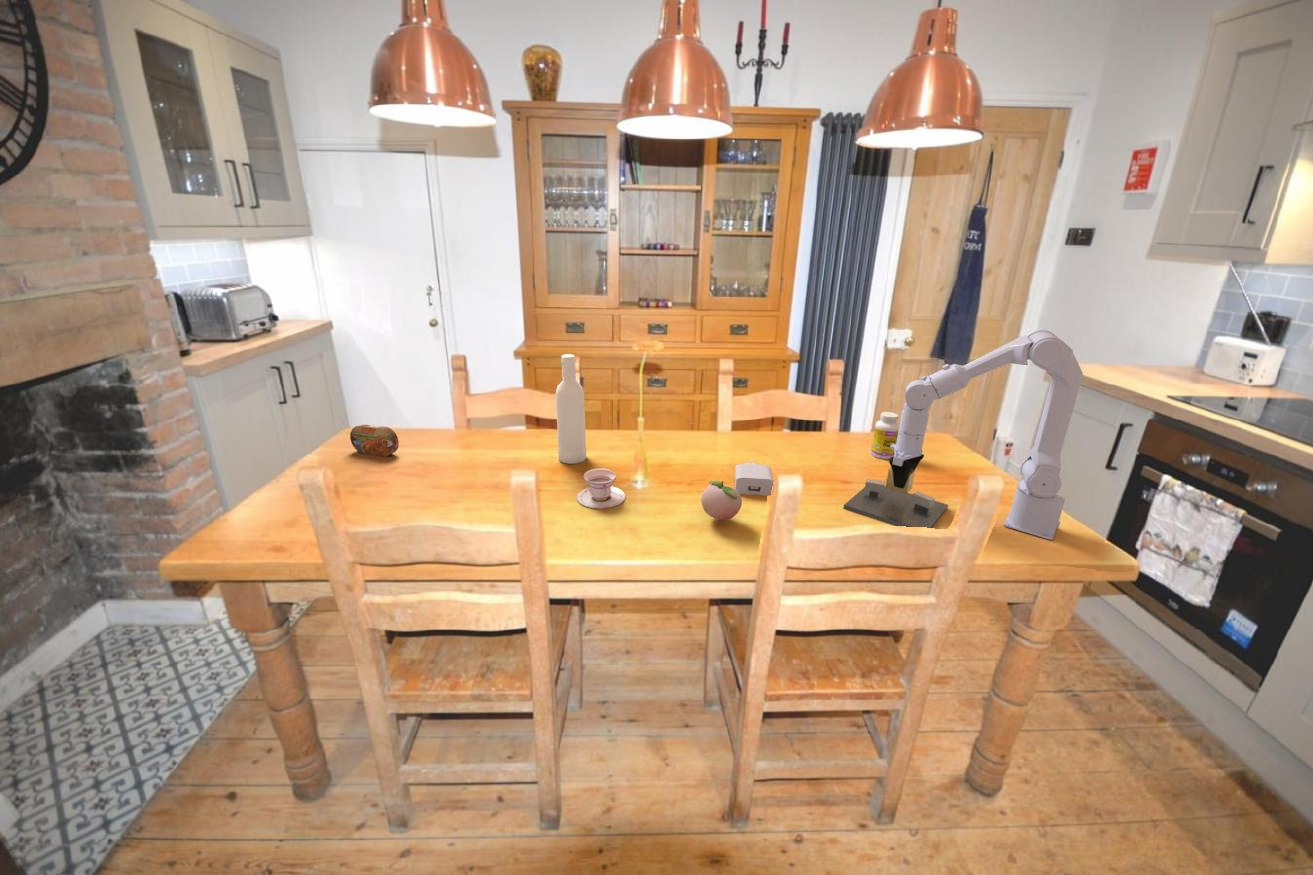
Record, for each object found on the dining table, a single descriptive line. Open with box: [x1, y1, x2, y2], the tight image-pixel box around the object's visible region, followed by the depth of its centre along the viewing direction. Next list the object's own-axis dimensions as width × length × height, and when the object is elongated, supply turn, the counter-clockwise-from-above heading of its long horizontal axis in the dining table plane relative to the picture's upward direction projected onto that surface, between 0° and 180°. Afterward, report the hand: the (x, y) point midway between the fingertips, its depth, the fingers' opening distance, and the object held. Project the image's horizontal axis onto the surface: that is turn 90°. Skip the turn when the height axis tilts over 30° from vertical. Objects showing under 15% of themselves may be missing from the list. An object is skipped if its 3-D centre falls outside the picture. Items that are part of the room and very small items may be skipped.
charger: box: [734, 462, 774, 497], centre depth 149 cm, size 5×9×15 cm
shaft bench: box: [843, 478, 949, 529], centre depth 136 cm, size 19×17×4 cm
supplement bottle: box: [870, 411, 900, 460], centre depth 166 cm, size 7×7×13 cm
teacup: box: [576, 467, 627, 510], centre depth 139 cm, size 12×12×6 cm
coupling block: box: [885, 467, 916, 494], centre depth 138 cm, size 5×4×5 cm
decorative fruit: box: [700, 479, 743, 522], centre depth 128 cm, size 9×8×10 cm
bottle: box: [555, 354, 587, 465], centre depth 157 cm, size 8×8×30 cm
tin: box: [349, 424, 400, 457], centre depth 163 cm, size 15×3×8 cm, turn 73°
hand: (901, 483), depth 138 cm, fingers closed on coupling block, 4 cm apart
